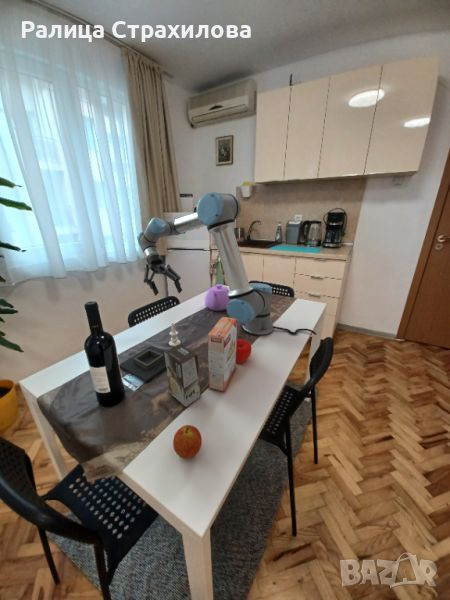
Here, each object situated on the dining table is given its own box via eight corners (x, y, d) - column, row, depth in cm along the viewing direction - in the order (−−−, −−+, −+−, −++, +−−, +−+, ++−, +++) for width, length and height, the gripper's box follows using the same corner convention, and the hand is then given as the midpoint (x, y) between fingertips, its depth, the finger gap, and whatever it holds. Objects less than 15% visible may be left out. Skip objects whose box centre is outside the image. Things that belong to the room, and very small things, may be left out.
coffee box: (201, 396, 77) (199, 354, 71) (185, 407, 73) (181, 364, 67) (183, 383, 83) (180, 343, 77) (168, 392, 79) (163, 351, 73)
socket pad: (178, 359, 96) (178, 353, 95) (146, 382, 83) (145, 375, 82) (151, 347, 104) (150, 341, 103) (119, 367, 91) (117, 360, 90)
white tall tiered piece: (171, 347, 104) (169, 326, 100) (166, 342, 108) (164, 322, 104) (182, 344, 106) (181, 323, 103) (177, 339, 110) (175, 318, 107)
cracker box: (225, 392, 79) (224, 337, 71) (208, 388, 80) (206, 334, 73) (236, 367, 91) (237, 318, 83) (222, 364, 93) (221, 315, 85)
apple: (247, 369, 90) (248, 351, 87) (225, 364, 93) (225, 347, 90) (253, 356, 98) (254, 339, 95) (233, 352, 100) (233, 335, 97)
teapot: (208, 298, 158) (207, 278, 153) (235, 299, 156) (235, 279, 151) (200, 314, 135) (198, 291, 130) (231, 316, 133) (231, 293, 128)
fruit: (178, 470, 56) (175, 446, 53) (171, 445, 61) (168, 422, 58) (206, 457, 58) (205, 434, 55) (197, 434, 64) (195, 412, 61)
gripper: (170, 262, 134) (185, 294, 127) (127, 262, 115) (142, 299, 109) (176, 254, 129) (192, 286, 123) (132, 252, 111) (149, 290, 104)
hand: (169, 292), depth 116 cm, fingers open, 13 cm apart
